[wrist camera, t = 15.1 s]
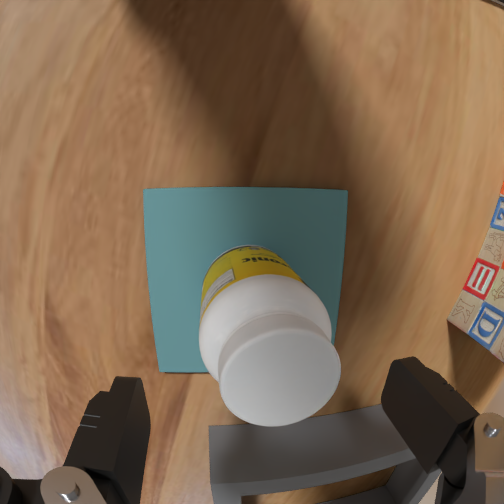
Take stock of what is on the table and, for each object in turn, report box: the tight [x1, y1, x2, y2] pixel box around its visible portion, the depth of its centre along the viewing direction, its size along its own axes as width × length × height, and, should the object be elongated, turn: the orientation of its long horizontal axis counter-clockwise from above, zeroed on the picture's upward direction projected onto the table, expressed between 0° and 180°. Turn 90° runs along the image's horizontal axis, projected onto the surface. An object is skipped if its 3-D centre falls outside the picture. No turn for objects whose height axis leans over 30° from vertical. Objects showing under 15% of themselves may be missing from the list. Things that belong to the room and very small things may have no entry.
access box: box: [209, 404, 442, 504], centre depth 22 cm, size 22×18×6 cm
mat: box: [143, 187, 348, 372], centre depth 19 cm, size 12×12×1 cm
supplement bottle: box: [199, 245, 341, 427], centre depth 14 cm, size 5×5×10 cm
